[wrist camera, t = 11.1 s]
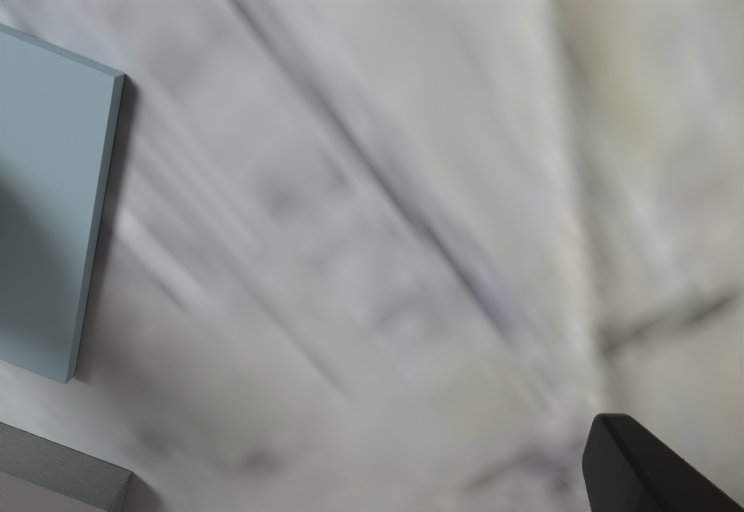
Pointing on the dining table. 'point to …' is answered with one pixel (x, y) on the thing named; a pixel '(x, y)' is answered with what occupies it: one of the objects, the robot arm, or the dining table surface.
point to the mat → (50, 196)
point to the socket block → (55, 477)
